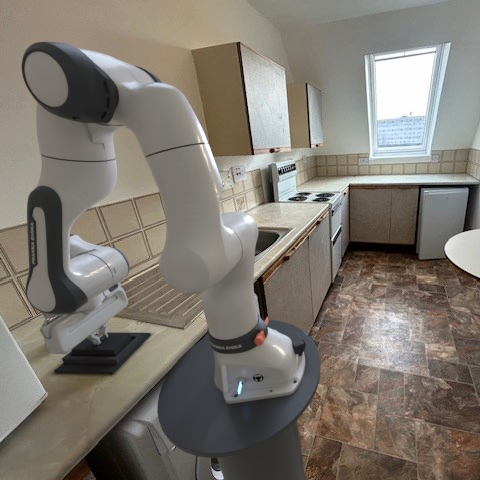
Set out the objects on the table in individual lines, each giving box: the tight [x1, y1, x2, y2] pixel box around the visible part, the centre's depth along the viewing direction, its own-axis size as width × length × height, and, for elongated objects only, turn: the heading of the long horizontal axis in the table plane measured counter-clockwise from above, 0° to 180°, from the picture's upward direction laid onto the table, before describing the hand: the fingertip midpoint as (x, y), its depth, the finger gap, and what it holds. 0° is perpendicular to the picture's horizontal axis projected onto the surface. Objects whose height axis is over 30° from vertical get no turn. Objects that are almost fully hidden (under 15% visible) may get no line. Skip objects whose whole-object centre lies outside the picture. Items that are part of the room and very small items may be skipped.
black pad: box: [70, 333, 132, 357], centre depth 72 cm, size 12×6×3 cm, turn 85°
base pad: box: [53, 332, 152, 375], centre depth 72 cm, size 16×14×2 cm
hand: (101, 341), depth 71 cm, fingers closed
